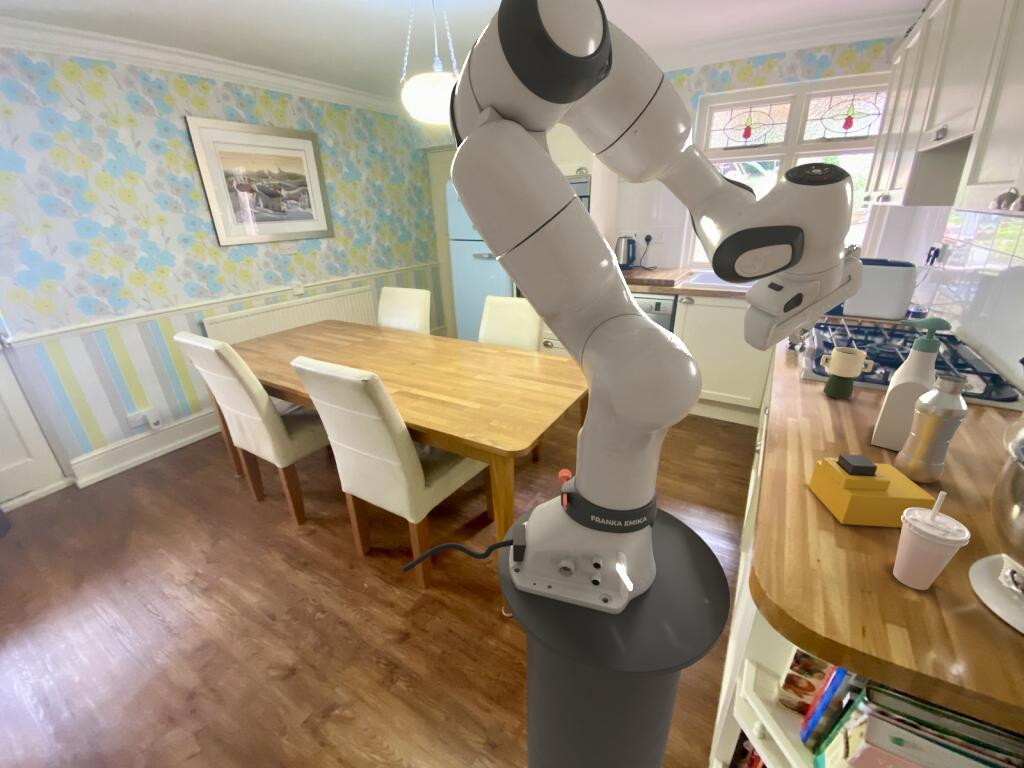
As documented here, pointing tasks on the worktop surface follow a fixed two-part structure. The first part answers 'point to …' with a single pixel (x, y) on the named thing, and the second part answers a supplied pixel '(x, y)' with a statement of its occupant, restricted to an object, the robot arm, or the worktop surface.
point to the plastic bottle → (933, 430)
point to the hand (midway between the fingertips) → (799, 339)
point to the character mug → (844, 370)
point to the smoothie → (927, 544)
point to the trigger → (856, 465)
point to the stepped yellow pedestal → (867, 494)
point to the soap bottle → (909, 386)
